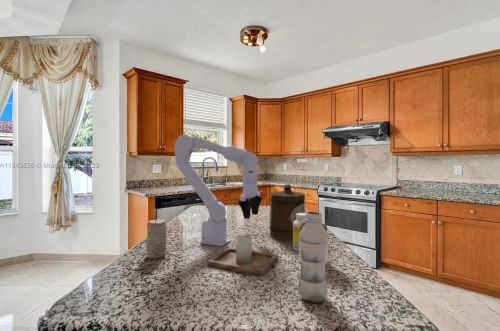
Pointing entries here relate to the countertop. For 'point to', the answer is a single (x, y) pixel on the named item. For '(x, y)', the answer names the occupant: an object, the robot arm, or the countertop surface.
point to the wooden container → (285, 212)
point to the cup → (243, 248)
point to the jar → (300, 247)
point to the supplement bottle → (297, 229)
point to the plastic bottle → (313, 259)
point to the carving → (156, 238)
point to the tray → (255, 267)
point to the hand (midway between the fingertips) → (251, 216)
